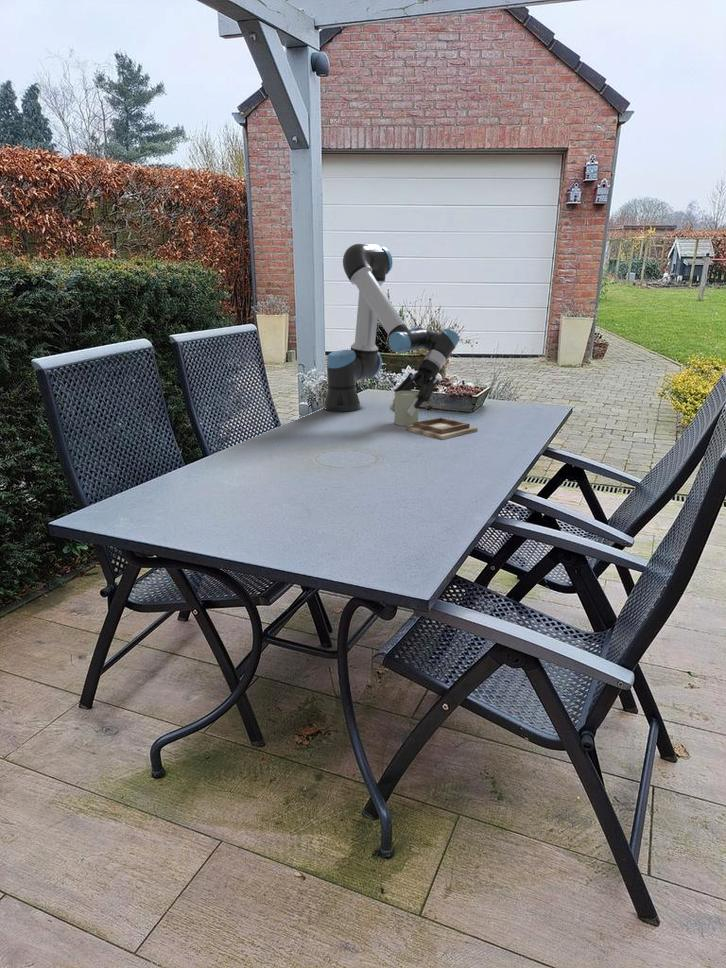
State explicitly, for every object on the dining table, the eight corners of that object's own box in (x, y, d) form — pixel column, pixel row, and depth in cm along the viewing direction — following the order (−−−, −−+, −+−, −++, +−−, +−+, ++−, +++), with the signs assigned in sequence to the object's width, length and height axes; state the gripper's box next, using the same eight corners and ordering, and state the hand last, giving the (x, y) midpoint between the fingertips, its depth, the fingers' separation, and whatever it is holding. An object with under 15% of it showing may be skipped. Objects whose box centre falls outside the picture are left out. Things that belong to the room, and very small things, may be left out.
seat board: (405, 430, 229) (405, 422, 228) (440, 422, 240) (440, 415, 239) (442, 439, 216) (442, 431, 215) (477, 431, 227) (477, 423, 226)
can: (389, 421, 242) (390, 390, 238) (411, 419, 245) (411, 388, 242) (401, 426, 234) (401, 394, 230) (423, 424, 238) (423, 392, 234)
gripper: (457, 374, 235) (425, 423, 231) (416, 368, 251) (386, 413, 247) (448, 361, 231) (415, 410, 226) (406, 355, 246) (375, 401, 242)
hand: (400, 412), depth 236 cm, fingers closed on can, 9 cm apart
